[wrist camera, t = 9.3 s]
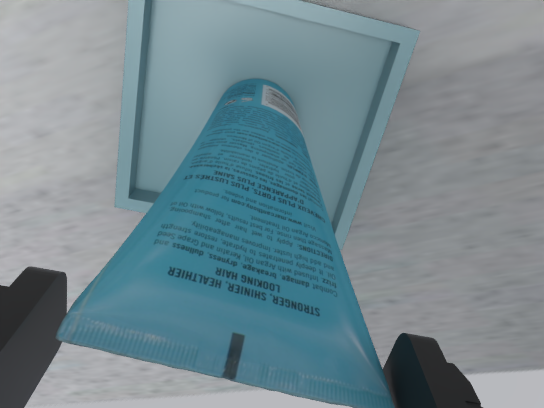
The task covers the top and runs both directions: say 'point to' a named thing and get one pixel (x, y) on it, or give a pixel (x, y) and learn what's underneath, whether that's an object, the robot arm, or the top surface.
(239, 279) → the tube
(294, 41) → the tray
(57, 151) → the top surface
